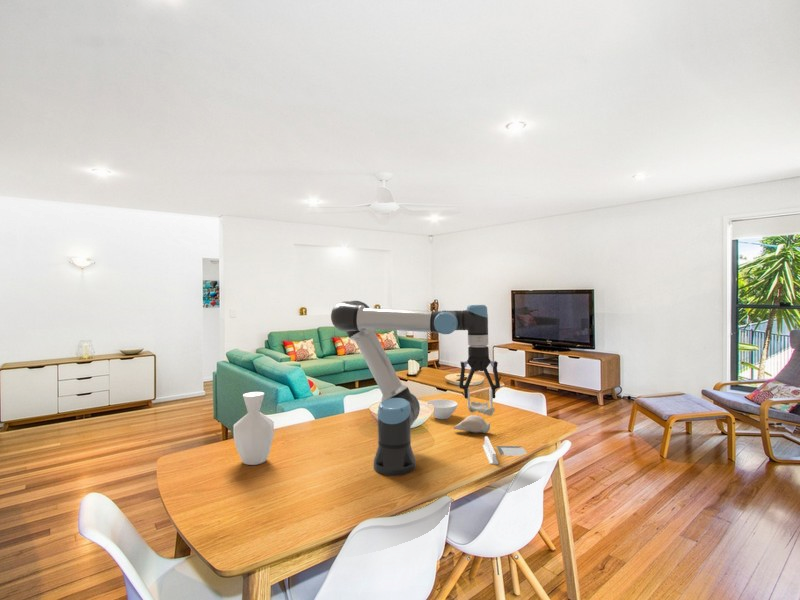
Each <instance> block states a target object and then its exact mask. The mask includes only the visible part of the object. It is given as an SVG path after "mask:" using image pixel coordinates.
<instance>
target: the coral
mask: <svg viewBox="0 0 800 600" xmlns="http://www.w3.org/2000/svg"><path fill="white" fill-rule="evenodd" d="M467 408H468V407H467ZM468 411H469V412H470V413H475V412H478V413H479V414H480V413H481V414H483V415H486V416H489V417H490V416H494V412H496V409H495V408H494V407H493V408H491V407H489V403H488V402H483V403H482V402H481V401H477V402H476V401H475V400H473V401H470V408H468Z"/></svg>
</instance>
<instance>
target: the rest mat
mask: <svg viewBox="0 0 800 600" xmlns="http://www.w3.org/2000/svg"><path fill="white" fill-rule="evenodd" d="M496 448H497V451H498V452H499V454H500V456H503V455H504V457H521V456H523V455H525V454H527V451H526V449H525V448H524V447H523V446H521V445H520V446H519V445H515V446H514V445H496Z"/></svg>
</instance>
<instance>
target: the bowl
mask: <svg viewBox="0 0 800 600" xmlns="http://www.w3.org/2000/svg"><path fill="white" fill-rule="evenodd" d="M426 404H427V405H428V404H432V405H433V406H434V412H433V414H432V416H433V417H434V418H436V419H438V420H447V419H450V417H451V416H452V415H453V413H455V412H456V410H457V409H458V406H459V405H458V404H459V403H458V402H456V400H455V401H454V400H450V399H444V398H443V399H441V398H440V399H438V398H437V399H431V400H428V401H426V403H425V405H426ZM427 405H426V406H427ZM428 406H429V405H428Z"/></svg>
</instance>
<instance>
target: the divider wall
mask: <svg viewBox="0 0 800 600" xmlns="http://www.w3.org/2000/svg"><path fill="white" fill-rule="evenodd" d="M482 448H483V450H484V453H485V455H486V458H487V460H488V463H489V465H499V461H498V458H497V453H496V450H495V449H494V447H493V445H492V443H491V440H490V439H489V437H488V436H484V444H482Z"/></svg>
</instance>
